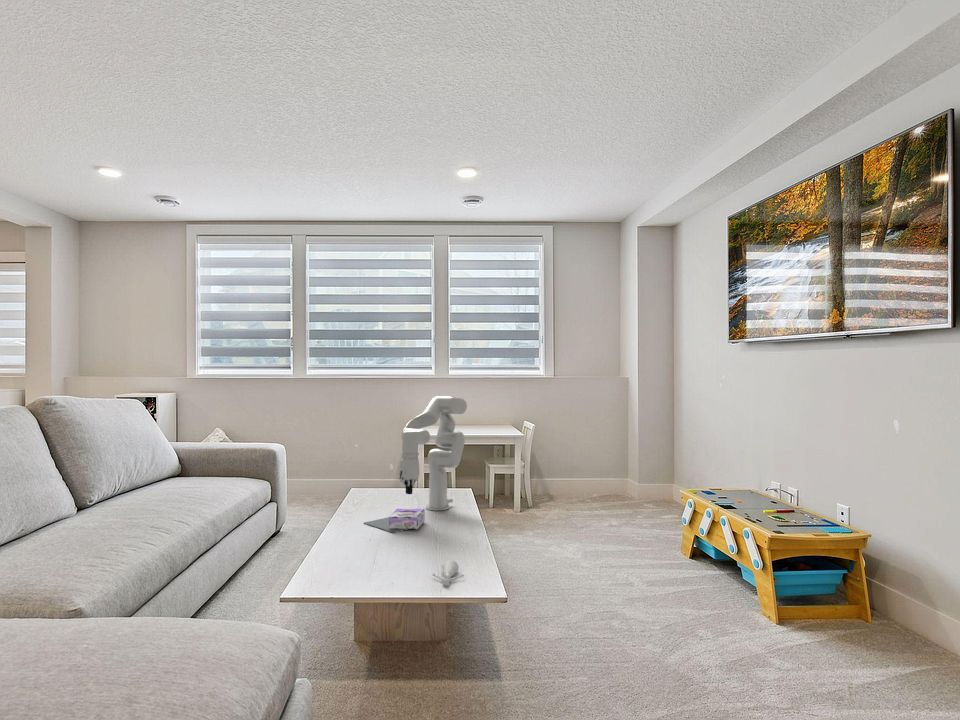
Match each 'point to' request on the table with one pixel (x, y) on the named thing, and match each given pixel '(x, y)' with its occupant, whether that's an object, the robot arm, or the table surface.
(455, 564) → the grey legged figure
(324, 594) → the table surface
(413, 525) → the candy box
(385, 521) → the mat
